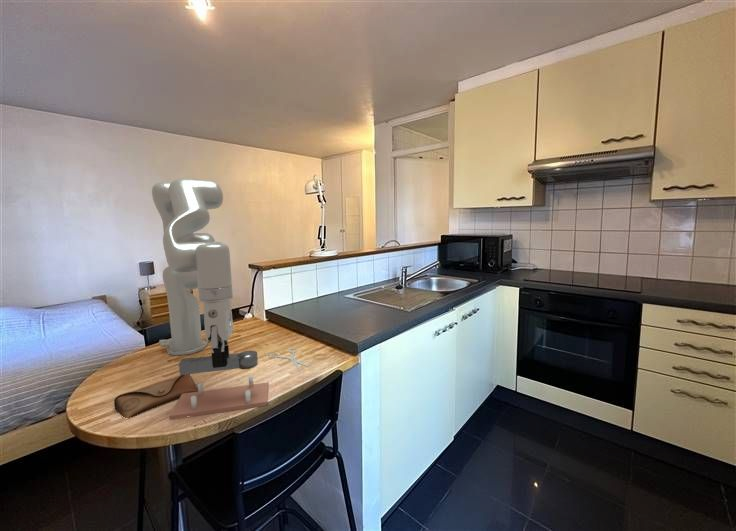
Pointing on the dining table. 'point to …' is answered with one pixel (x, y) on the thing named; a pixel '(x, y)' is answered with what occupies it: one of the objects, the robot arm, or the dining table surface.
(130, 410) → the sunglasses case
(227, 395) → the peg rack
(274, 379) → the dining table surface
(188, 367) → the grey spoon
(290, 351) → the scissors
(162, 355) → the dining table surface
